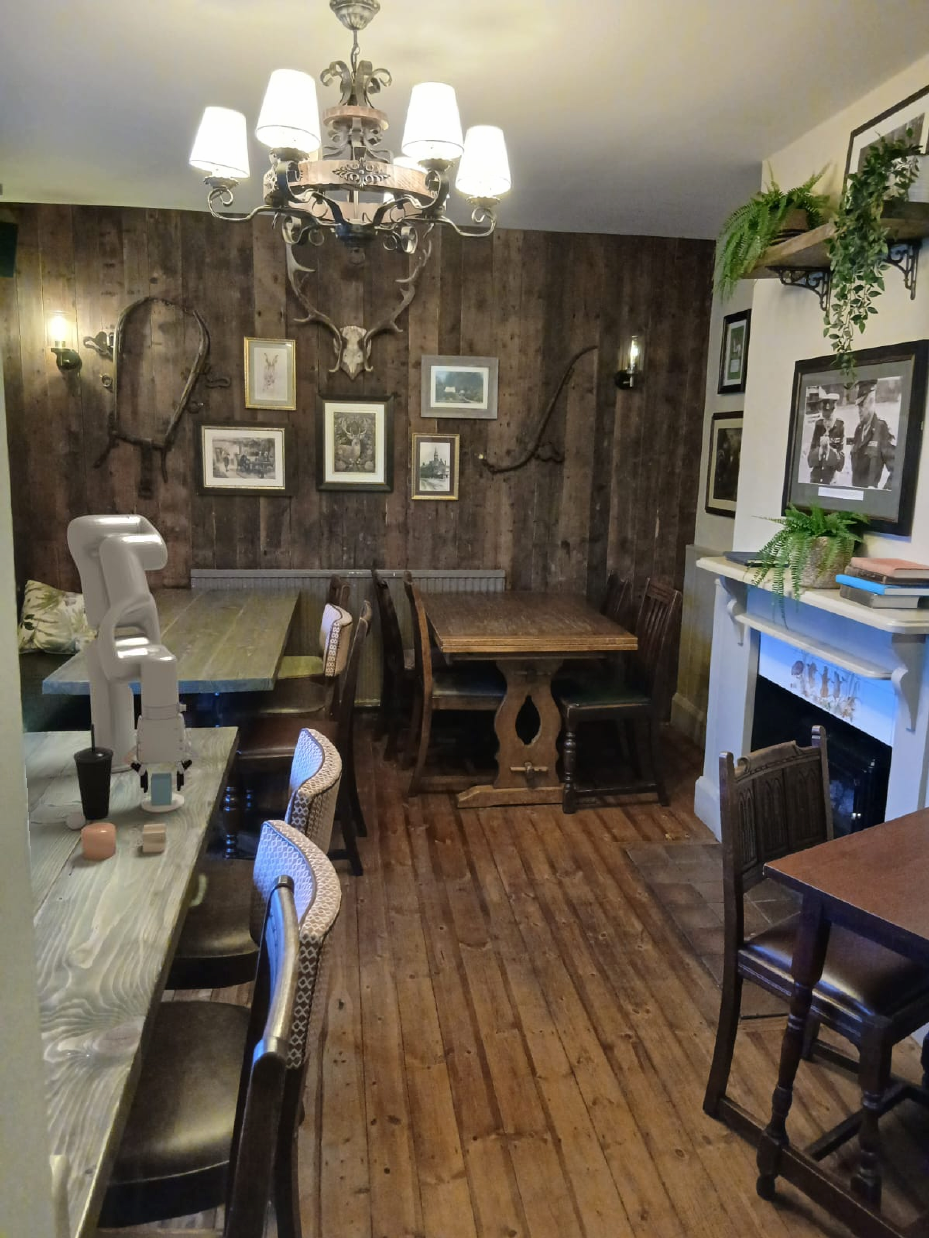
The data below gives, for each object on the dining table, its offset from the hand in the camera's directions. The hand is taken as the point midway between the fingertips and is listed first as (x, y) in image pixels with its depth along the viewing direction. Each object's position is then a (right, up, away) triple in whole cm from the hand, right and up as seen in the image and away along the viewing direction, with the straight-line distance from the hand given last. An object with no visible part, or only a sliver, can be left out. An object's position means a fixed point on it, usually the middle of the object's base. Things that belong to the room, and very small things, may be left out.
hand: (162, 788), depth 191 cm
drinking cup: (-12, -5, -6) cm, 14 cm away
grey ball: (-13, -6, -13) cm, 19 cm away
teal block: (0, -3, 0) cm, 3 cm away
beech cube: (+5, -8, -19) cm, 21 cm away
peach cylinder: (-4, -8, -23) cm, 24 cm away
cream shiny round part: (0, -3, +1) cm, 3 cm away
